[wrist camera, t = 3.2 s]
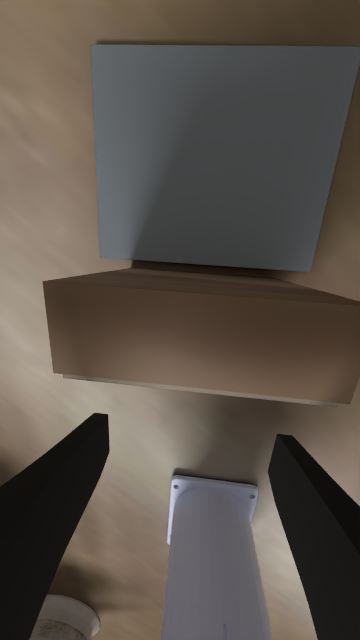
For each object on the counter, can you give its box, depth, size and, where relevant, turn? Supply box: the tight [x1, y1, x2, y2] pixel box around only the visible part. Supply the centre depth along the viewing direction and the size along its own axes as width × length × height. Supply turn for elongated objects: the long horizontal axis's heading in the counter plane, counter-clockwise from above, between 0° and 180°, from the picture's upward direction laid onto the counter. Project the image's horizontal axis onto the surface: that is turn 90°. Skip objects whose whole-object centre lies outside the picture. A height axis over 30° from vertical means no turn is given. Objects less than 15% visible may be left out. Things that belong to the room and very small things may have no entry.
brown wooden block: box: [43, 268, 360, 407], centre depth 11 cm, size 4×10×9 cm, turn 86°
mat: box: [91, 45, 360, 272], centre depth 13 cm, size 11×14×1 cm
